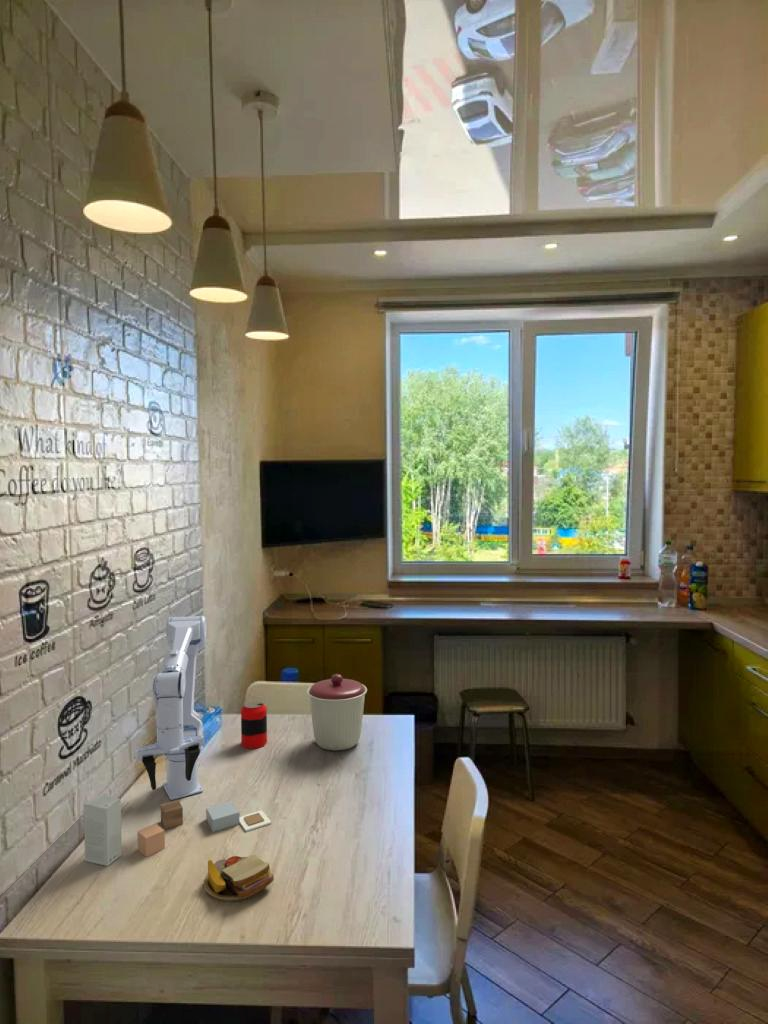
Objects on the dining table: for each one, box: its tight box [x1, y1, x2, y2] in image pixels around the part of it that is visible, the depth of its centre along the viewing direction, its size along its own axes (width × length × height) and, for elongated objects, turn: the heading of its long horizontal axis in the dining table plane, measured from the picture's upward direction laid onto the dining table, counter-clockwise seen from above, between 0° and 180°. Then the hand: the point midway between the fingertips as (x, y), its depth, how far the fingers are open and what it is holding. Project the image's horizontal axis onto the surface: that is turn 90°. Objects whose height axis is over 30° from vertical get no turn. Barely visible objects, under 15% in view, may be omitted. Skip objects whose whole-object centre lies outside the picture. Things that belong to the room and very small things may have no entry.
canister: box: [306, 673, 368, 752], centre depth 177 cm, size 18×18×21 cm
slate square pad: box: [205, 800, 241, 833], centre depth 135 cm, size 6×6×3 cm
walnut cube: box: [160, 799, 184, 830], centre depth 135 cm, size 4×4×4 cm
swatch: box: [239, 809, 272, 832], centre depth 135 cm, size 6×6×1 cm
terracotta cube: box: [136, 822, 166, 858], centre depth 125 cm, size 4×4×4 cm
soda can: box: [240, 700, 268, 750], centre depth 178 cm, size 8×8×12 cm
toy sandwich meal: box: [203, 854, 274, 902], centre depth 114 cm, size 12×14×5 cm
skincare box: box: [83, 794, 123, 867], centre depth 122 cm, size 6×4×12 cm
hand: (171, 783), depth 135 cm, fingers open, 7 cm apart
